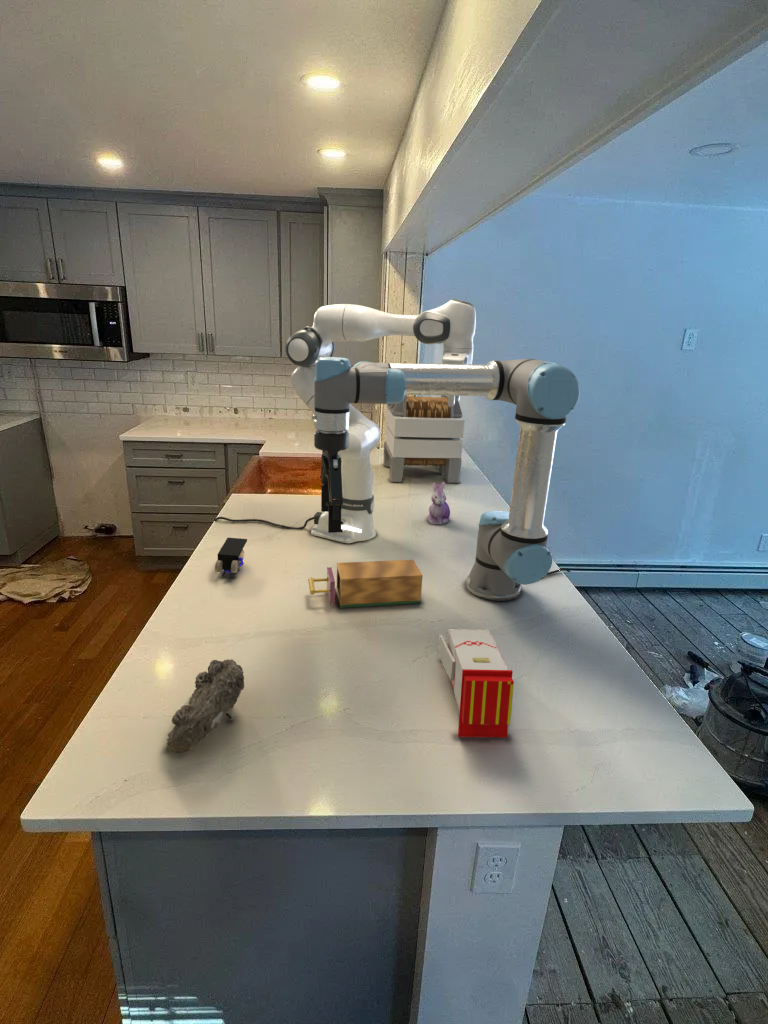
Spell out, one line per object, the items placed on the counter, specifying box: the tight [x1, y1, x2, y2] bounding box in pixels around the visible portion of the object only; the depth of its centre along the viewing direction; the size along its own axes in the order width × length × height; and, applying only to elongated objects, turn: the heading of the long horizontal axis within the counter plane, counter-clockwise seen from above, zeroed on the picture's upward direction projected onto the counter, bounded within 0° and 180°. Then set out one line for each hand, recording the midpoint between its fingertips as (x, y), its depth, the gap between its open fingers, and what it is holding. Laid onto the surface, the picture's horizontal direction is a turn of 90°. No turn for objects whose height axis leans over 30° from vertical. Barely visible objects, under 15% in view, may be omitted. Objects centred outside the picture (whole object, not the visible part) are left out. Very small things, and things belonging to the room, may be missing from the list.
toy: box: [437, 628, 515, 738], centre depth 117 cm, size 12×13×30 cm
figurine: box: [427, 481, 451, 525], centre depth 211 cm, size 9×10×15 cm
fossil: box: [166, 658, 245, 754], centre depth 106 cm, size 22×10×15 cm
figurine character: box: [214, 537, 248, 578], centre depth 166 cm, size 7×8×15 cm
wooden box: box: [335, 559, 423, 609], centre depth 155 cm, size 22×10×8 cm, turn 101°
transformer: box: [383, 395, 465, 484], centre depth 268 cm, size 34×33×41 cm
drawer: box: [307, 566, 341, 605], centre depth 153 cm, size 26×9×6 cm, turn 101°
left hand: (453, 403), depth 174 cm, fingers open, 8 cm apart
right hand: (330, 521), depth 131 cm, fingers open, 13 cm apart
